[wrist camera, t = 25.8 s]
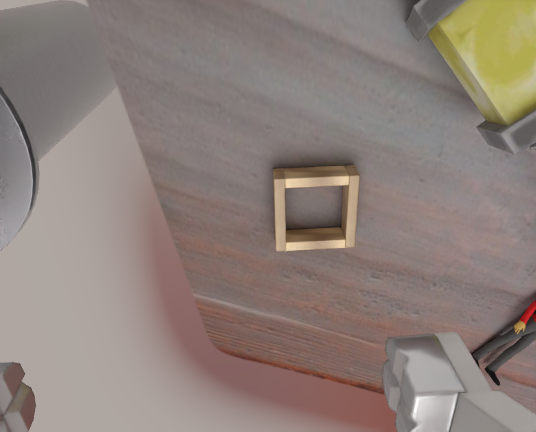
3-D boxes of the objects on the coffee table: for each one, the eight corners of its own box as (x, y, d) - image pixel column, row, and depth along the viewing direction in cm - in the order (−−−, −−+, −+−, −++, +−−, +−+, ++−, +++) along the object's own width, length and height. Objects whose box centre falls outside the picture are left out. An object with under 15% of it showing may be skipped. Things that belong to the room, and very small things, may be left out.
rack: (274, 238, 47) (276, 251, 45) (272, 168, 43) (274, 179, 41) (349, 234, 47) (354, 247, 45) (354, 164, 43) (360, 175, 41)
